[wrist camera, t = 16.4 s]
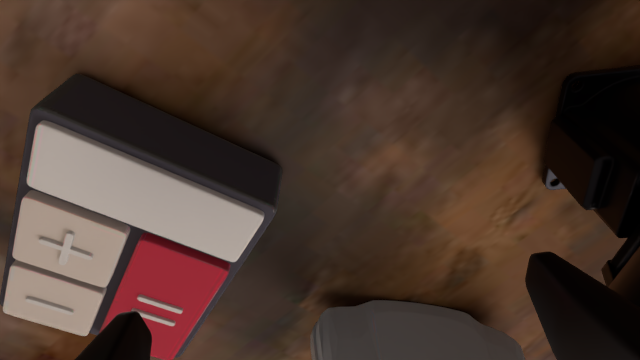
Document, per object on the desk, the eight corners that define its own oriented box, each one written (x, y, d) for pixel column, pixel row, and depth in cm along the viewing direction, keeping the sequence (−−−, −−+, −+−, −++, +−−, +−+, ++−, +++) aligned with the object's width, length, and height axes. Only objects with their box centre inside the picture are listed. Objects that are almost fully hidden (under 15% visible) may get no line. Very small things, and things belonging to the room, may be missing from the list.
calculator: (-12, 318, 24) (18, 112, 16) (31, 261, 27) (73, 68, 19) (175, 371, 27) (278, 220, 19) (193, 314, 30) (286, 166, 22)
